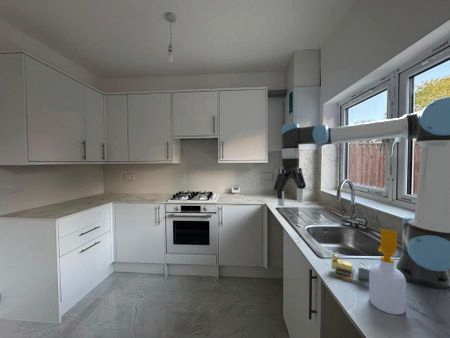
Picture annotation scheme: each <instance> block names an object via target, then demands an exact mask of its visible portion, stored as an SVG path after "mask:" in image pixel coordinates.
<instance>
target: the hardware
mask: <svg viewBox="0 0 450 338" xmlns="http://www.w3.org/2000/svg"><path fill="white" fill-rule="evenodd" d="M374 265H377V263H375V264H374ZM372 266H373V262H369V261H365V260H359V264H358V270H359V280H363V281H367V282H369V271H370V269H371V267H372ZM353 269H354V268H353V266H352V270H353ZM334 271H335V272H334V274H335V273H337V274H341V275H344V276H348V277H351V273H347V272H344V271H340V270H335V269H334Z"/></svg>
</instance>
